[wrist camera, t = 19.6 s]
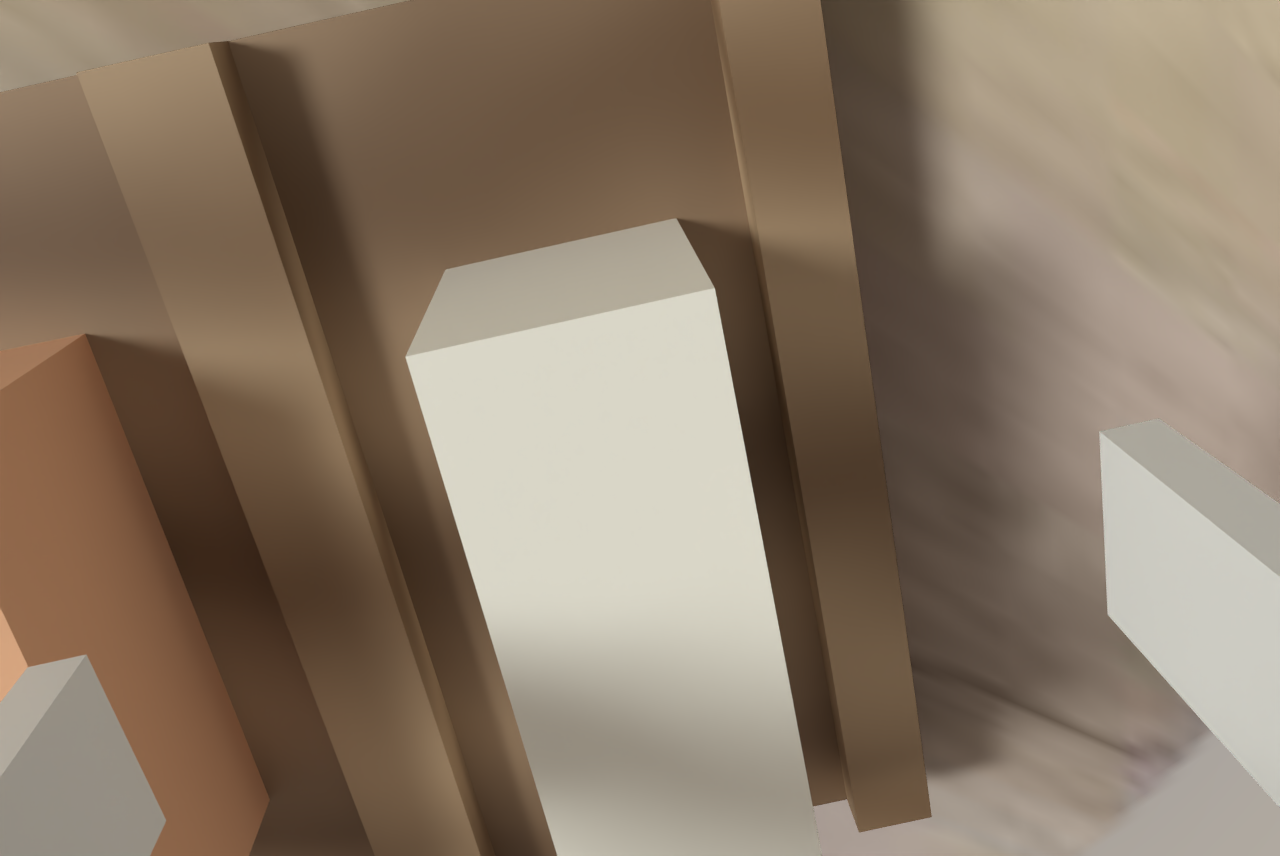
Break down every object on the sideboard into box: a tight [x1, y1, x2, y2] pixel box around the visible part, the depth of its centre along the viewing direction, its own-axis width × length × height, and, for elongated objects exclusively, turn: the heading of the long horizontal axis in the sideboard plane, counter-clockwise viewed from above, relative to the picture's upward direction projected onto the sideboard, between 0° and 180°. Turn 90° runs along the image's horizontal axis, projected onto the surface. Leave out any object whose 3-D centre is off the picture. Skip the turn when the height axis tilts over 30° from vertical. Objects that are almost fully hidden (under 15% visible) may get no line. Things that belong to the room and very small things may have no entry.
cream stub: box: [405, 218, 822, 856], centre depth 18 cm, size 10×4×5 cm, turn 12°
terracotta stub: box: [0, 334, 270, 856], centre depth 18 cm, size 10×4×5 cm, turn 11°
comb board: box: [0, 0, 932, 856], centre depth 20 cm, size 17×20×2 cm
